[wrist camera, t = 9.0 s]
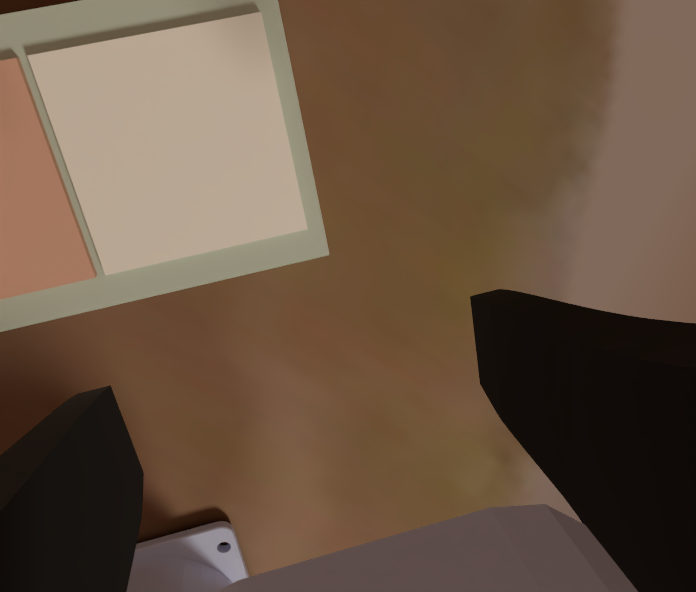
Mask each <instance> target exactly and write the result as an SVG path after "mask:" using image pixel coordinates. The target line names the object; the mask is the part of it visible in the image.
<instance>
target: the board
mask: <svg viewBox="0 0 696 592" xmlns="http://www.w3.org/2000/svg"><path fill="white" fill-rule="evenodd" d="M327 255H329V250H328V245H327V240H326V235H325V230H324V225H323V220H322V216H321V211H320V206H319V201H318V196H317V191H316V186H315V181H314V176H313V171H312V166H311V161H310V157H309V152H308V147H307V142H306V137H305V132H304V127H303V122H302V117H301V112H300V107H299V102H298V97H297V93H296V88H295V83H294V78H293V73H292V68H291V63H290V58H289V53H288V48H287V43H286V38H285V34H284V29H283V24H282V19H281V14H280V9H279V4H278V0H80V1H74V2H69V3H63V4H58V5H52V6H46V7H41V8H35V9H30V10H24V11H19V12H13V13H7V14H2V15H0V332H2V331H7V330H11V329H15V328H20V327H24V326H28V325H32V324H37V323H41V322H45V321H49V320H54V319H58V318H62V317H67V316H71V315H75V314H79V313H84V312H88V311H92V310H96V309H101V308H105V307H109V306H114V305H118V304H122V303H126V302H131V301H135V300H139V299H143V298H148V297H152V296H156V295H160V294H165V293H169V292H173V291H178V290H182V289H186V288H190V287H195V286H199V285H203V284H207V283H212V282H216V281H220V280H225V279H229V278H233V277H237V276H242V275H246V274H250V273H254V272H259V271H263V270H267V269H272V268H276V267H280V266H284V265H289V264H293V263H297V262H301V261H306V260H310V259H314V258H318V257H323V256H327Z"/></svg>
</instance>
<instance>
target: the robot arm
mask: <svg viewBox="0 0 696 592" xmlns="http://www.w3.org/2000/svg"><path fill="white" fill-rule="evenodd" d="M470 299H471V307H472V316H473V325H474V334H475V342H476V351H477V360H478V369H479V378H480V384H481V386H482V388H483V390H484V391H485V393H486V395H487V397H488V398H489V400H490V402H491V404H492V405H493V407H494V409H495V410H496V412H497V414H498V415H499V417H500V419H501V420H502V421H503V423H504V424H505V425H506V427H507V428H508V429H509V430H510V432H511V433H512V434H513V435H514V437H515V438H516V439H517V440H518V442H519V443H520V444H521V445H522V447H523V448H524V449H525V450H526V451H527V453H528V454H529V455H530V456H531V458H532V459H533V460H534V461H535V462H536V464H537V465H538V466H539V467H540V469H541V470H542V471H543V472H544V473H545V475H546V476H547V477H548V478H549V479H550V481H551V482H552V483H553V484H554V485H555V487H556V488H557V489H558V490H559V492H560V493H561V494H562V495H563V496H564V498H565V499H566V501H567V502H568V503H569V504H570V506H571V507H572V509H573V510H574V511H575V513H576V514H577V515H578V516H579V518H580V520H581V521H582V523H581V522H579V521H577V520H575V519H573V518H571V517H569V516H567V515H565V514H563V513H561V512H559V511H558V510H556V509H553V508H552V507H550V506H548V505H546V504H538V505H523V506H507V507H492V508H487V509H483V510H480V511H476V512H473V513H469V514H466V515H463V516H459V517H456V518H452V519H449V520H445V521H442V522H438V523H435V524H431V525H428V526H424V527H421V528H418V529H414V530H411V531H407V532H404V533H400V534H397V535H393V536H390V537H386V538H383V539H379V540H376V541H373V542H369V543H366V544H362V545H359V546H355V547H352V548H348V549H345V550H341V551H338V552H334V553H331V554H328V555H324V556H321V557H317V558H314V559H310V560H307V561H303V562H300V563H296V564H293V565H290V566H286V567H283V568H279V569H276V570H272V571H269V572H265V573H262V574H258V575H255V576H251V577H249V575H248V571H247V568H246V565H245V562H244V559H243V556H242V553H241V550H240V547H239V544H238V541H237V538H236V535H235V531H234V528H233V527H232V525H231V524H230V523H228V522H225V521H217V522H214V523H210V524H207V525H203V526H199V527H196V528H192V529H189V530H185V531H181V532H178V533H174V534H171V535H167V536H163V537H160V538H156V539H153V540H149V541H145V542H142V543H138V544H136V543H137V538H138V533H139V528H140V523H141V516H142V501H143V475H144V473H143V470H142V467H141V465H140V462H139V460H138V457H137V454H136V452H135V449H134V446H133V444H132V441H131V438H130V436H129V433H128V431H127V428H126V425H125V423H124V420H123V417H122V415H121V412H120V410H119V407H118V404H117V402H116V399H115V396H114V394H113V391H112V388H111V386H107V387H103V388H99V389H95V390H91V391H87V392H83V393H79V394H77V395H75V396H73V397H72V398H70V399H69V400H67V401H66V402H65V403H63V404H62V405H61V406H59V407H58V408H57V409H56V410H54V411H53V412H52V413H51V414H50V415H48V416H47V417H46V418H45V419H44V420H42V421H41V422H40V423H39V424H38V425H36V426H35V427H34V428H33V429H32V430H31V431H29V432H28V433H27V434H26V435H25V436H23V437H22V438H21V439H20V440H19V441H18V442H16V443H15V444H14V445H13V446H12V447H10V448H9V449H8V450H7V451H6V452H4V453H3V454H2V455H1V456H0V592H696V324H695V323H683V322H673V321H664V320H655V319H647V318H639V317H633V316H627V315H622V314H616V313H611V312H605V311H600V310H595V309H591V308H586V307H582V306H577V305H573V304H568V303H564V302H560V301H556V300H552V299H548V298H543V297H539V296H535V295H531V294H526V293H522V292H517V291H511V290H502V289H498V290H494V291H490V292H486V293H482V294H478V295H474V296H470ZM222 542H227V543H229V544H227V545H223V546H222V545H219V544H220V543H222Z"/></svg>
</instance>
